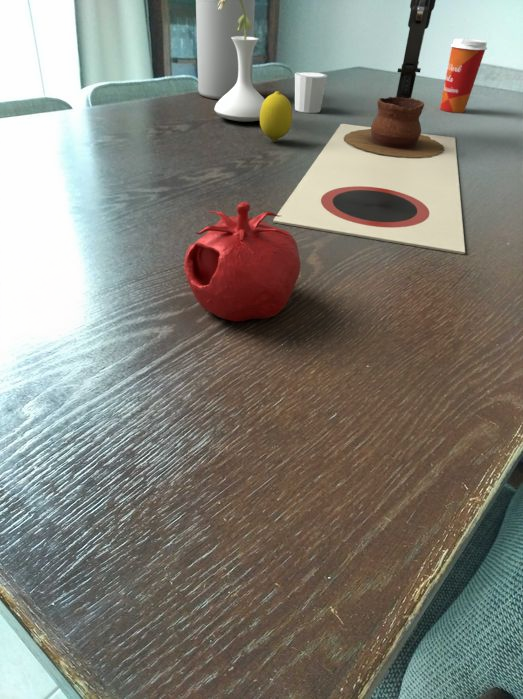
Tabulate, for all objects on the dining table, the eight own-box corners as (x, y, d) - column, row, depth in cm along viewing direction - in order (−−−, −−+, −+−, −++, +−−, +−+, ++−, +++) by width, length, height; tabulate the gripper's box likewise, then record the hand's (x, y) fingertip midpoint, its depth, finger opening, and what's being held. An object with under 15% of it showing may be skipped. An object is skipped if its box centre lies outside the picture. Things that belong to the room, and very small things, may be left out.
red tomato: (295, 277, 48) (305, 182, 43) (297, 337, 40) (310, 230, 35) (194, 270, 48) (191, 175, 43) (177, 329, 40) (170, 221, 35)
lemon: (256, 144, 85) (258, 92, 80) (261, 136, 89) (263, 86, 84) (288, 147, 84) (292, 95, 79) (291, 139, 89) (295, 89, 84)
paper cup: (432, 105, 119) (448, 37, 111) (463, 107, 119) (482, 39, 111) (439, 112, 113) (458, 41, 104) (473, 114, 113) (494, 43, 104)
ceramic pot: (405, 165, 79) (416, 117, 74) (323, 138, 89) (328, 95, 84) (463, 147, 89) (475, 104, 84) (383, 125, 99) (390, 86, 94)
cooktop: (454, 139, 94) (455, 137, 94) (464, 254, 54) (465, 252, 54) (341, 125, 99) (341, 123, 98) (272, 222, 59) (272, 220, 58)
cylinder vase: (233, 103, 109) (235, -40, 94) (187, 95, 114) (182, -43, 99) (261, 95, 118) (267, -37, 103) (217, 87, 123) (217, -40, 107)
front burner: (430, 197, 68) (430, 195, 68) (427, 237, 58) (428, 235, 57) (330, 182, 71) (330, 180, 71) (310, 218, 60) (310, 216, 60)
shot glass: (285, 108, 108) (288, 72, 104) (305, 105, 112) (309, 70, 108) (309, 115, 104) (313, 77, 100) (329, 111, 108) (334, 75, 104)
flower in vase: (227, 110, 104) (228, -41, 89) (278, 117, 101) (289, -38, 86) (201, 123, 94) (197, -44, 79) (257, 131, 91) (264, -40, 76)
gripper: (411, -48, 85) (384, 103, 99) (407, -52, 75) (377, 116, 89) (457, -45, 83) (422, 107, 98) (458, -49, 73) (419, 121, 88)
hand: (400, 111), depth 93 cm, fingers closed
